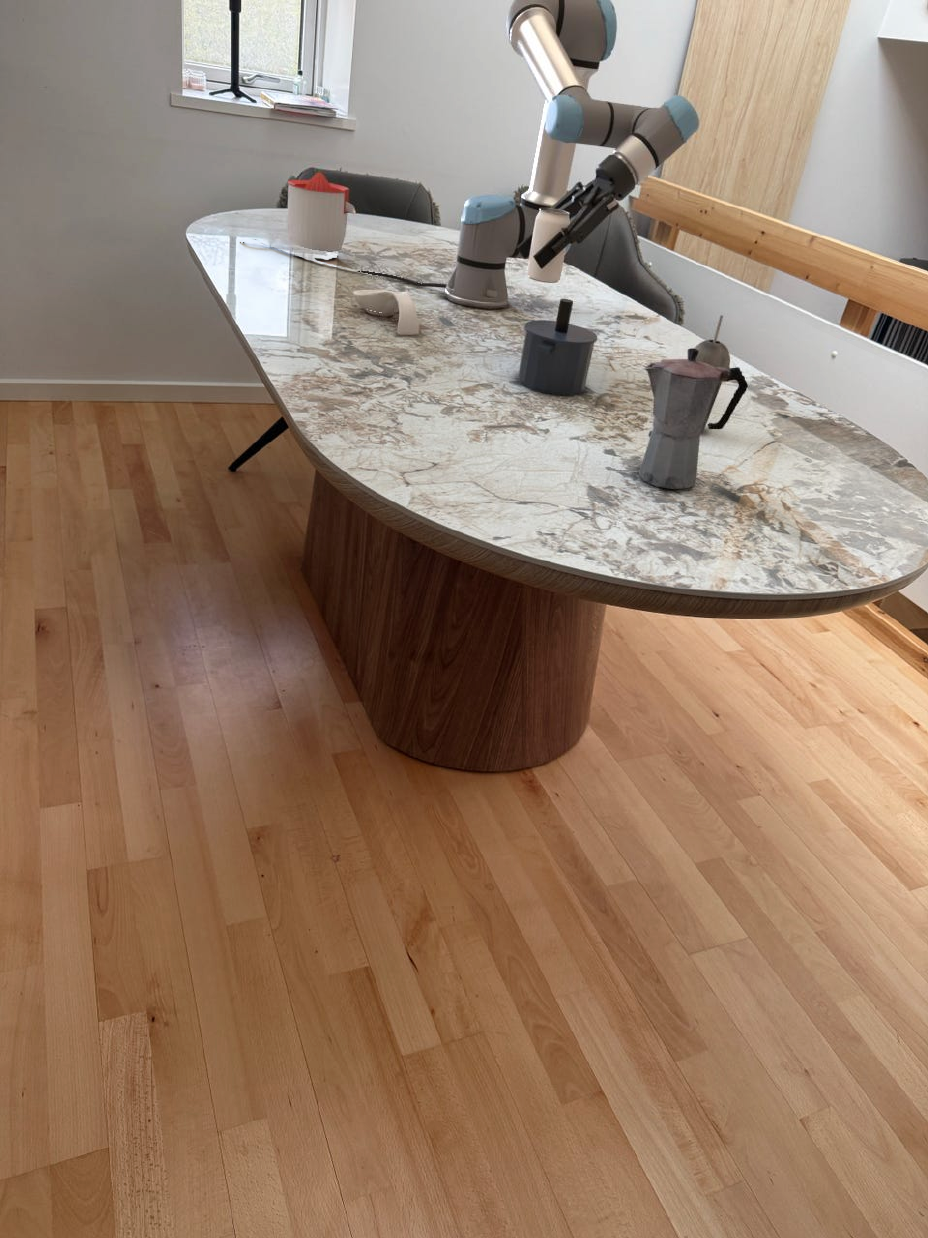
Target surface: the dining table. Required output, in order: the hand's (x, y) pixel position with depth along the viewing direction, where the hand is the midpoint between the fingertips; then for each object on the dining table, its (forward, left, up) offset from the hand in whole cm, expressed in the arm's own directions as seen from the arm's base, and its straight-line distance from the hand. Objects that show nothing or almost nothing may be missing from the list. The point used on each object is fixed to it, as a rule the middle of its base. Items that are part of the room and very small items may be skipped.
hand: (529, 257), depth 172 cm
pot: (+10, -5, -20) cm, 23 cm away
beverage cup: (+38, -9, -20) cm, 44 cm away
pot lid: (+10, -5, -11) cm, 16 cm away
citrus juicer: (-74, +49, -20) cm, 91 cm away
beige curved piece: (-32, +9, -20) cm, 39 cm away
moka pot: (+40, -36, -20) cm, 58 cm away
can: (+2, +3, -4) cm, 5 cm away
